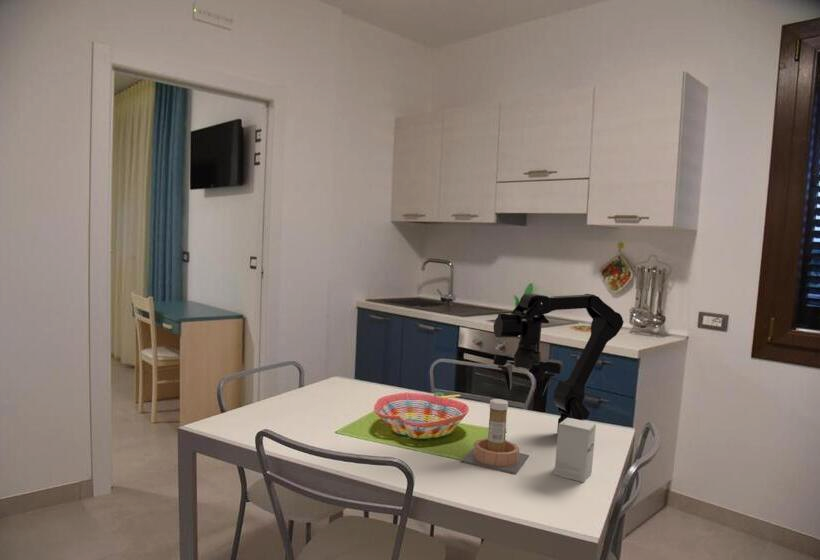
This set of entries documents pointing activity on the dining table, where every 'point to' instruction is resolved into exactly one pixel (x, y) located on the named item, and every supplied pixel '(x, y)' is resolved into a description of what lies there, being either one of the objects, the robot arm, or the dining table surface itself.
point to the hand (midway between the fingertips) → (525, 392)
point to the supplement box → (575, 449)
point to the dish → (496, 457)
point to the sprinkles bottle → (497, 425)
